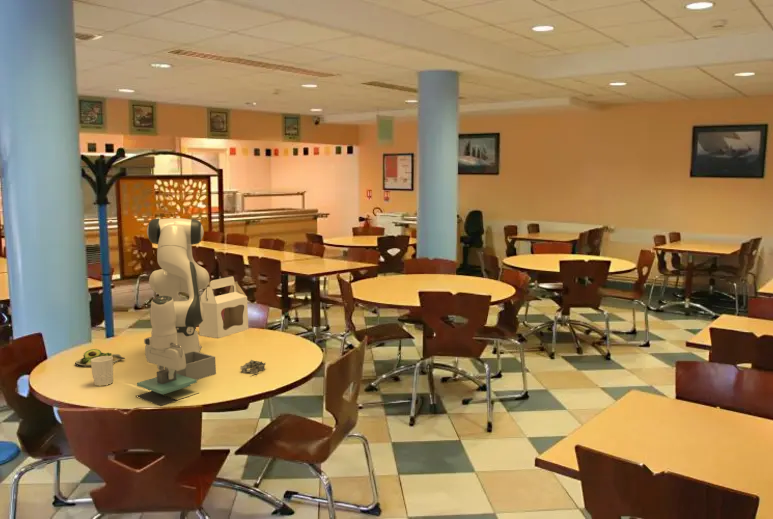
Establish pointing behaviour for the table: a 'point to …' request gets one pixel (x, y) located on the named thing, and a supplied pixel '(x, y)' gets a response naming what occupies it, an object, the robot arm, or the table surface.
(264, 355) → the table surface
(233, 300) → the gable box
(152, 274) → the robot arm
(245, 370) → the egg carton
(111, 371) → the tan cup
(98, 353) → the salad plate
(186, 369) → the storage box
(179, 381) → the lid
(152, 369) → the table surface
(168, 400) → the rubber mat
